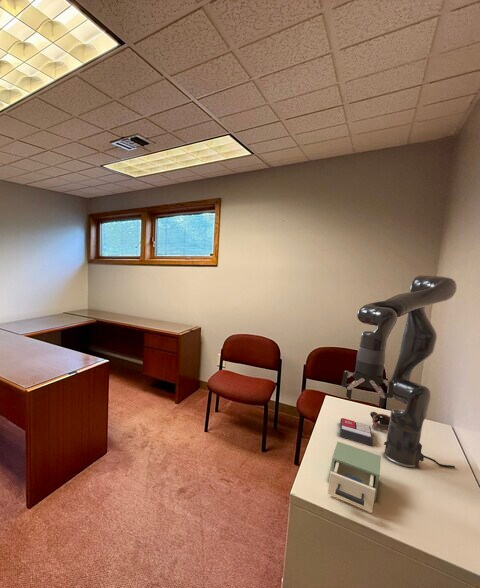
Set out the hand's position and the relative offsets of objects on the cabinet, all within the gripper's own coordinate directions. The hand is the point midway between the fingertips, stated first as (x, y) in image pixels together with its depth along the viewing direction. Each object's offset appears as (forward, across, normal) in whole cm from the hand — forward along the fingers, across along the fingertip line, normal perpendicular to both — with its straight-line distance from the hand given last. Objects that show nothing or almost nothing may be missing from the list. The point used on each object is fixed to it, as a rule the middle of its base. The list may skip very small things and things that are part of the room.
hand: (364, 402), depth 117 cm
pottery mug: (+28, -6, -52) cm, 60 cm away
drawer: (+27, 0, +19) cm, 33 cm away
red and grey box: (+28, +2, -35) cm, 45 cm away
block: (+26, 0, +18) cm, 31 cm away
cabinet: (+28, 0, +6) cm, 29 cm away
